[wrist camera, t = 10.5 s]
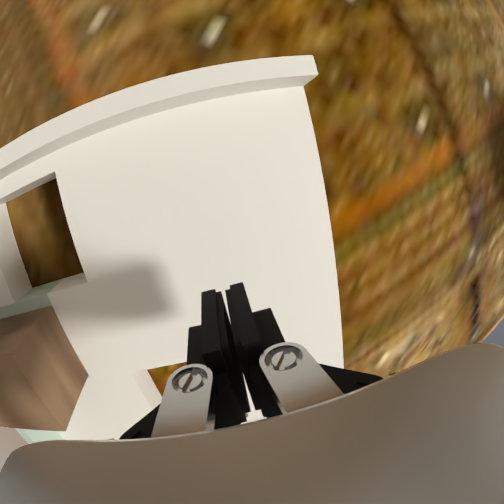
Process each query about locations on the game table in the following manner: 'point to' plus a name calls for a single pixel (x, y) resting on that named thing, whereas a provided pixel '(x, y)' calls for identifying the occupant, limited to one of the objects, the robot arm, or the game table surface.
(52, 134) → the board
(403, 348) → the game table surface
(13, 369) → the walnut block
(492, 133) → the game table surface
